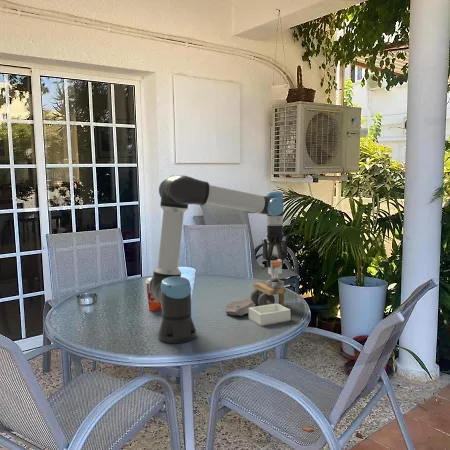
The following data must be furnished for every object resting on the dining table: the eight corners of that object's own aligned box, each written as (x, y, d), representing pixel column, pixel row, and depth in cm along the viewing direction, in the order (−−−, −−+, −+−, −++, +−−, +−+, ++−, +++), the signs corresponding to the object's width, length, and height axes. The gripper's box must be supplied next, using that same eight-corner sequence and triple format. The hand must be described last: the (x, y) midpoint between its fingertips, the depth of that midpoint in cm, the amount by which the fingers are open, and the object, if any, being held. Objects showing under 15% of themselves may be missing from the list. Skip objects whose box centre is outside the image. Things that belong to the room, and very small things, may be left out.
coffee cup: (147, 312, 210) (145, 281, 208) (146, 307, 218) (145, 277, 216) (164, 310, 211) (163, 280, 210) (163, 306, 219) (162, 276, 218)
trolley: (263, 312, 206) (263, 284, 204) (248, 304, 219) (248, 278, 218) (285, 309, 210) (285, 281, 209) (269, 301, 224) (269, 275, 223)
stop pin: (273, 284, 208) (273, 262, 207) (268, 282, 212) (268, 260, 211) (281, 283, 210) (281, 261, 208) (276, 281, 214) (276, 260, 212)
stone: (235, 319, 197) (235, 306, 197) (223, 314, 205) (223, 301, 204) (258, 314, 205) (259, 301, 204) (246, 309, 213) (246, 297, 212)
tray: (260, 326, 188) (260, 314, 187) (248, 318, 198) (248, 307, 197) (290, 320, 194) (290, 309, 193) (277, 313, 204) (277, 303, 203)
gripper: (262, 226, 201) (262, 276, 203) (295, 224, 208) (294, 273, 210) (254, 224, 207) (255, 273, 210) (286, 222, 215) (286, 270, 217)
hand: (274, 273), depth 210 cm, fingers closed on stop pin, 4 cm apart
